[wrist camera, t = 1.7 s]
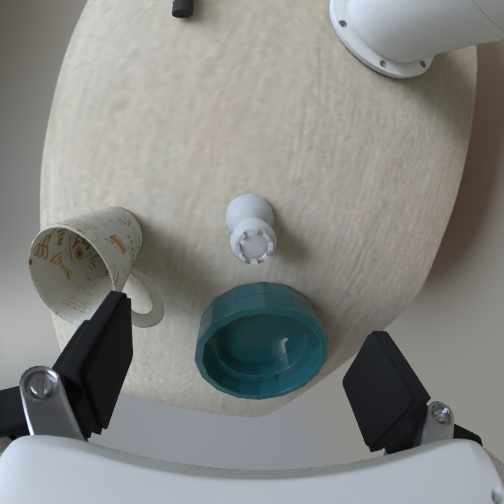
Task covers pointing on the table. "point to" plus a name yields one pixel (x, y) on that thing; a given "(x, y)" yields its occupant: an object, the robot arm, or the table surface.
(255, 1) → the table surface
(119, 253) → the mug
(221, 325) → the bowl
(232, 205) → the rook chess piece
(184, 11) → the marker
